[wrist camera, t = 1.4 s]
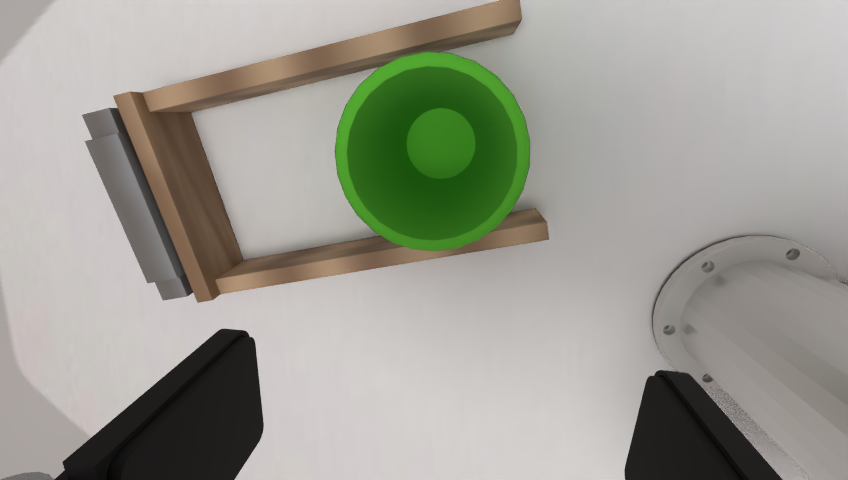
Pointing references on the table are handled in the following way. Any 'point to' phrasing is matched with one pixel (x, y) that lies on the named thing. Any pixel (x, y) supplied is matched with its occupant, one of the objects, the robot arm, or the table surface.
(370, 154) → the cup
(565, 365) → the table surface
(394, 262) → the bay
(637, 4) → the table surface
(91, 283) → the table surface
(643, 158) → the table surface
